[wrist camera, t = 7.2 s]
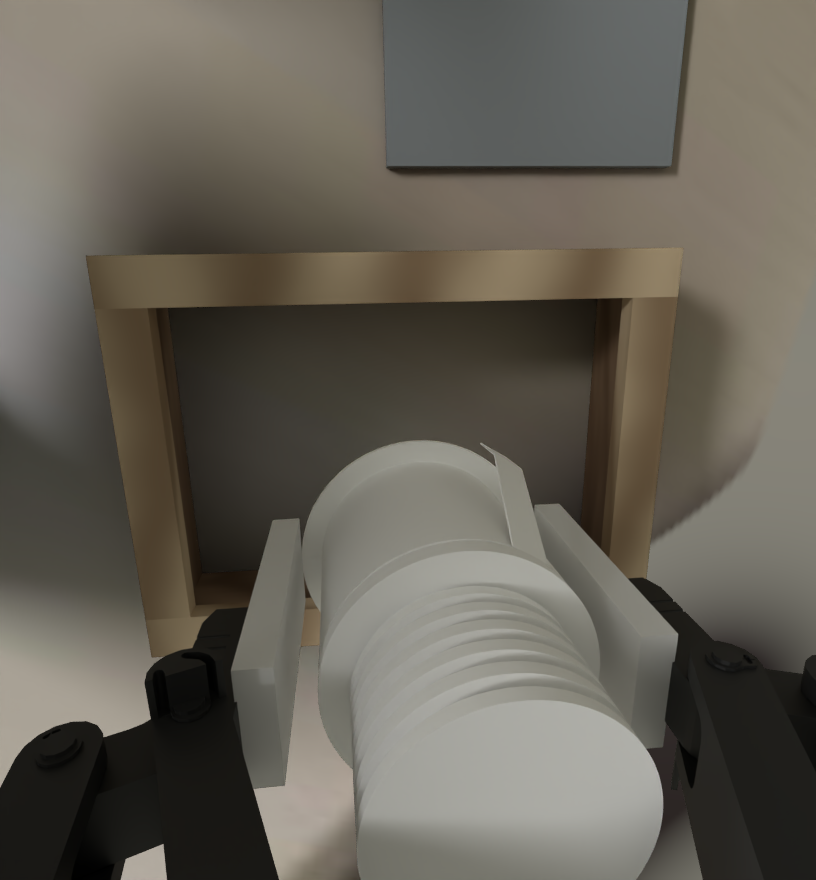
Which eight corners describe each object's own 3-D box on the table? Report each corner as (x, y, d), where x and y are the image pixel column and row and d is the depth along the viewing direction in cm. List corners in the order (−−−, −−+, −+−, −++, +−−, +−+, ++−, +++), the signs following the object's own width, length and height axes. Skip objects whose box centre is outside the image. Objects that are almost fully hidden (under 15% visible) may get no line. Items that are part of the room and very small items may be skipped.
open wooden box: (186, 590, 33) (151, 657, 27) (139, 259, 28) (85, 255, 22) (593, 564, 35) (641, 621, 29) (619, 252, 30) (683, 247, 24)
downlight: (445, 688, 19) (557, 1074, 10) (254, 606, 18) (165, 971, 8) (574, 489, 18) (846, 706, 9) (382, 380, 17) (454, 500, 7)
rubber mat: (386, 168, 28) (387, 166, 27) (379, -142, 24) (379, -152, 24) (664, 168, 29) (671, 165, 28) (694, -128, 26) (702, -137, 25)
